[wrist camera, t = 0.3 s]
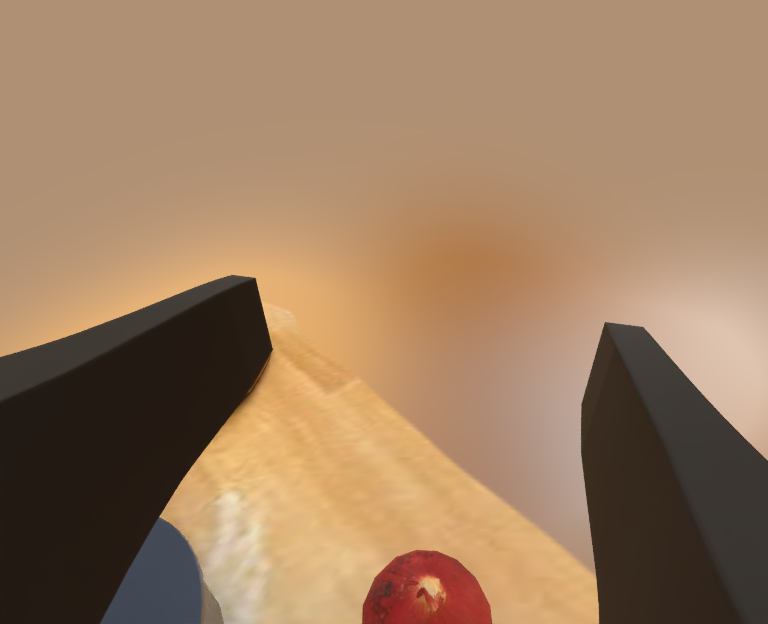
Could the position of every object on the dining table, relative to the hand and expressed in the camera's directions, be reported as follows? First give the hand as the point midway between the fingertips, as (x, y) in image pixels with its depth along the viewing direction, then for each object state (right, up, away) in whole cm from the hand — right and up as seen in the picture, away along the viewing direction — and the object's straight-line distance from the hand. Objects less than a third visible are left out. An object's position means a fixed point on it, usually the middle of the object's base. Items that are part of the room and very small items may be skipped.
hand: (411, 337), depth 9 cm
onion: (+2, -17, +13) cm, 21 cm away
